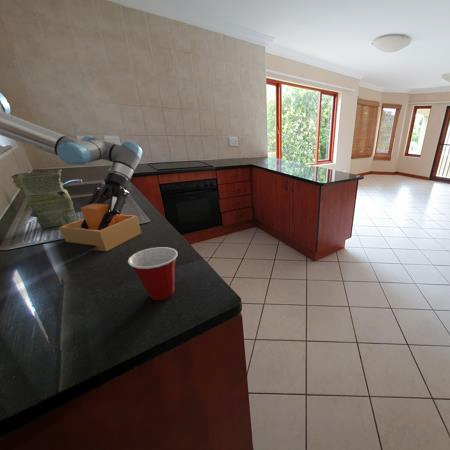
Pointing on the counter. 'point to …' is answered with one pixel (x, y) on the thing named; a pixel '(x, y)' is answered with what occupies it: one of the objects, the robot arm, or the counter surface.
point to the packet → (95, 215)
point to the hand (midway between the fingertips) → (92, 229)
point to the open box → (103, 233)
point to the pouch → (47, 198)
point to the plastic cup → (156, 270)
